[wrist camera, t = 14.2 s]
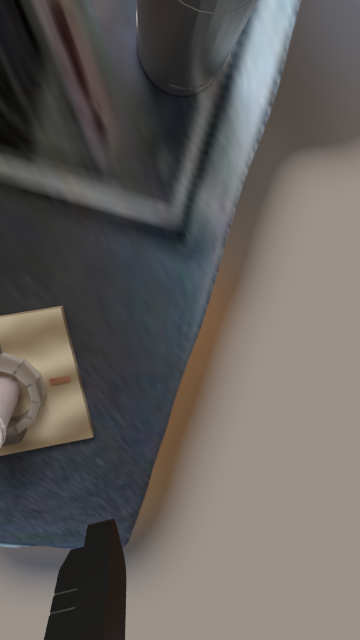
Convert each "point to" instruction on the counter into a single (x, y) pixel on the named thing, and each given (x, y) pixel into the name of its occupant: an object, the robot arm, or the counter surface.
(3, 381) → the smoothie
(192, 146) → the counter surface
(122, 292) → the counter surface
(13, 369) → the holder
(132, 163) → the counter surface
